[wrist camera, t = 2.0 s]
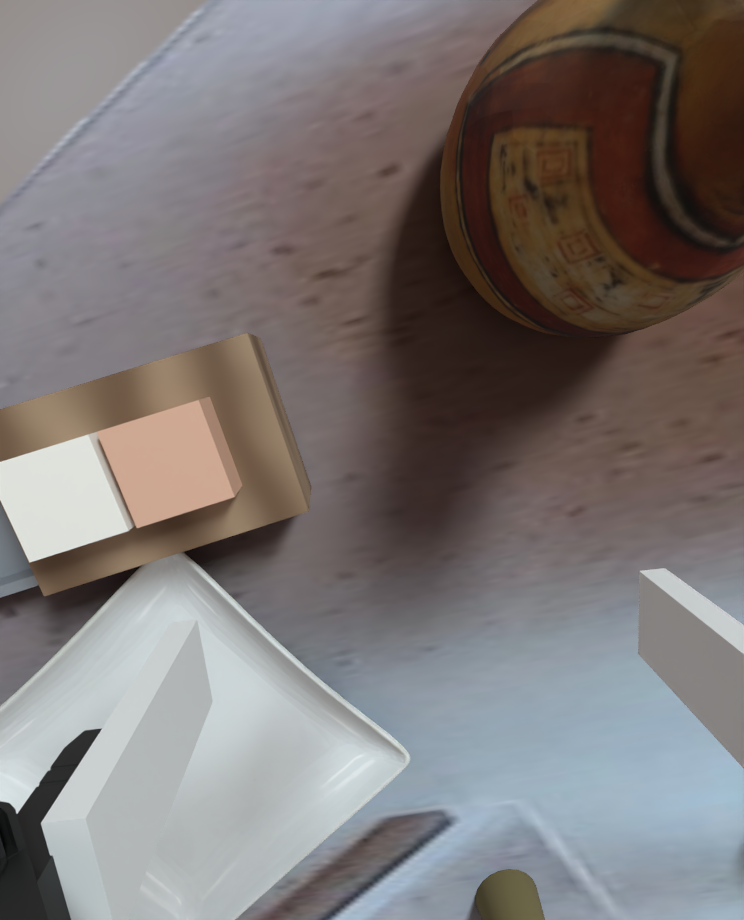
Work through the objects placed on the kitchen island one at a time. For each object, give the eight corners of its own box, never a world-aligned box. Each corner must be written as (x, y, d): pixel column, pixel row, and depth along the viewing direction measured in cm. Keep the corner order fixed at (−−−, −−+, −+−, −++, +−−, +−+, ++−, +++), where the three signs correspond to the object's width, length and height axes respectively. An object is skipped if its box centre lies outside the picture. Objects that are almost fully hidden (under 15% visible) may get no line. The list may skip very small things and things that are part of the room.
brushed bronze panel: (90, 557, 41) (44, 596, 34) (25, 411, 39) (-39, 421, 32) (311, 487, 42) (308, 511, 35) (260, 338, 39) (247, 332, 33)
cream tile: (55, 545, 34) (29, 562, 31) (15, 457, 33) (-16, 466, 30) (145, 516, 34) (128, 530, 31) (109, 428, 33) (88, 434, 30)
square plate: (-53, 750, 43) (-89, 788, 40) (181, 524, 42) (166, 541, 38) (193, 927, 49) (182, 975, 45) (410, 732, 47) (417, 764, 43)
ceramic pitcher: (466, 373, 41) (816, 398, 12) (390, 98, 37) (636, -875, 8) (700, 297, 42) (1579, 142, 13) (649, 18, 38) (1765, -1164, 9)
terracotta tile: (152, 514, 34) (136, 528, 31) (116, 425, 33) (96, 431, 30) (242, 485, 34) (234, 497, 31) (209, 396, 33) (198, 399, 30)
